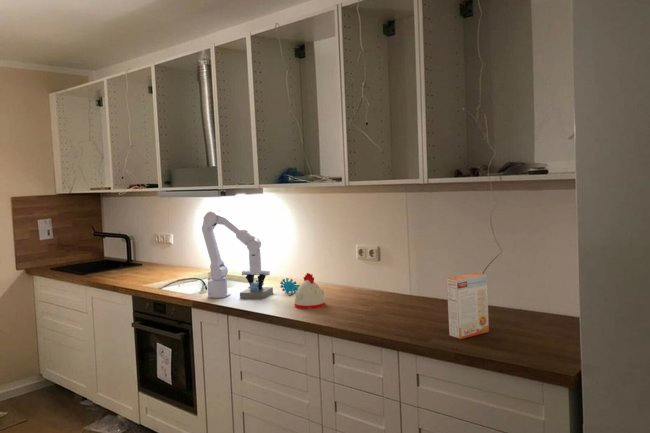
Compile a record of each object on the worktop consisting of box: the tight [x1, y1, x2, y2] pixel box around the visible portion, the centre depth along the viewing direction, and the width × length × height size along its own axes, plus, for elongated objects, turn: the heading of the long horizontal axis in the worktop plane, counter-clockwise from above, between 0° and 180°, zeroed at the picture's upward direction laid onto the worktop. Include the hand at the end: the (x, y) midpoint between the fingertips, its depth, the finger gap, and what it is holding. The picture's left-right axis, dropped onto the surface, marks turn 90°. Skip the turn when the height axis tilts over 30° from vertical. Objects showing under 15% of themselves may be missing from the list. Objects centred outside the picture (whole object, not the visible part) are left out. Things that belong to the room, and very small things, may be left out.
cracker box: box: [446, 272, 490, 340], centre depth 183 cm, size 14×6×21 cm, turn 118°
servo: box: [247, 279, 265, 292], centre depth 264 cm, size 4×10×6 cm, turn 164°
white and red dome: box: [294, 272, 326, 310], centre depth 238 cm, size 14×14×15 cm
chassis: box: [239, 286, 274, 300], centre depth 264 cm, size 12×14×3 cm
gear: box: [279, 277, 301, 295], centre depth 268 cm, size 11×6×10 cm
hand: (256, 289), depth 264 cm, fingers closed on servo, 4 cm apart
